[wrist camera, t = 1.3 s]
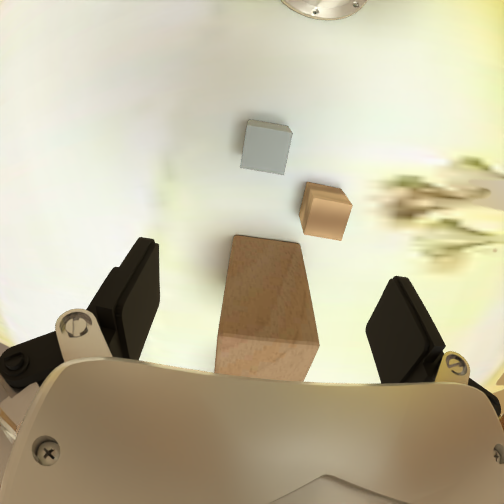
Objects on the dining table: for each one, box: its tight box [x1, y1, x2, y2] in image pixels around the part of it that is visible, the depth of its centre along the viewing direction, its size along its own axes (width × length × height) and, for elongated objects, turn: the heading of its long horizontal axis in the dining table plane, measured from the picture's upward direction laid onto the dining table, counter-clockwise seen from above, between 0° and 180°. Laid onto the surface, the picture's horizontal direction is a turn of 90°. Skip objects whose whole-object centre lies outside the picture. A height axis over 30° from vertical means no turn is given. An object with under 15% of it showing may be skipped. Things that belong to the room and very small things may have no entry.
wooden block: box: [214, 235, 320, 382], centre depth 39 cm, size 10×10×20 cm
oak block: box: [299, 182, 353, 241], centre depth 39 cm, size 5×5×6 cm
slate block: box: [240, 119, 293, 175], centre depth 35 cm, size 5×5×6 cm
